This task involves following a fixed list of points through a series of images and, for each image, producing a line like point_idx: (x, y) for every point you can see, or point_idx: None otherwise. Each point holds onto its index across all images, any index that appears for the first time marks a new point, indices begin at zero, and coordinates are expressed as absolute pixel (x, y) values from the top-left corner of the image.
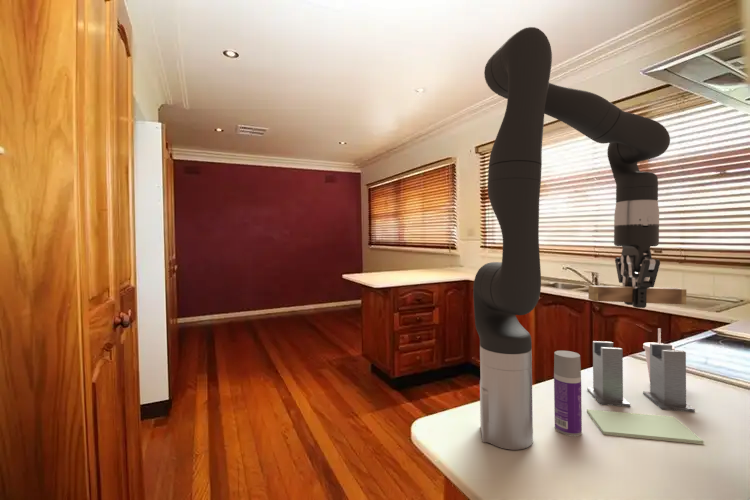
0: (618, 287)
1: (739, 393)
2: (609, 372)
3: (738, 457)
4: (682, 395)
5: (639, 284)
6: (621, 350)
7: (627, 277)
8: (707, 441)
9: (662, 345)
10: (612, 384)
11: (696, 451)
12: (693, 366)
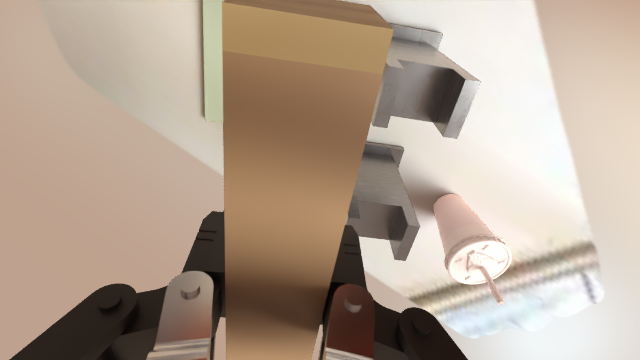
0: (225, 210)
1: (389, 282)
2: None
3: (177, 139)
4: None
5: (94, 299)
6: (372, 121)
7: (323, 357)
8: (218, 130)
9: (400, 242)
10: None
11: (179, 90)
12: (505, 299)
